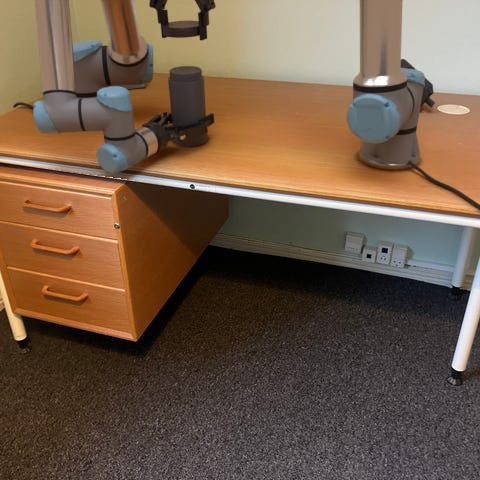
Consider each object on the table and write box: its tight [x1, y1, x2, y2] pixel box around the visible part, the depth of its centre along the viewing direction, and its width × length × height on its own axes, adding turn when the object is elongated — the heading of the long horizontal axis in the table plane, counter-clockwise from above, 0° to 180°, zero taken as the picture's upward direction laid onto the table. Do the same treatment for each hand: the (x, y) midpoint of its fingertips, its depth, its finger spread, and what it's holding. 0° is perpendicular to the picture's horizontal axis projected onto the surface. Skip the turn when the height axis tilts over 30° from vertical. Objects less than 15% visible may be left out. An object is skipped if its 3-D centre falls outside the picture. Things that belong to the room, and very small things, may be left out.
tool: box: [401, 58, 436, 108], centre depth 172 cm, size 6×19×15 cm, turn 51°
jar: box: [167, 65, 208, 147], centre depth 148 cm, size 10×10×20 cm
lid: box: [163, 20, 200, 39], centre depth 137 cm, size 11×11×2 cm
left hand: (197, 115), depth 153 cm, fingers closed on jar, 10 cm apart
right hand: (184, 38), depth 138 cm, fingers closed on lid, 10 cm apart
